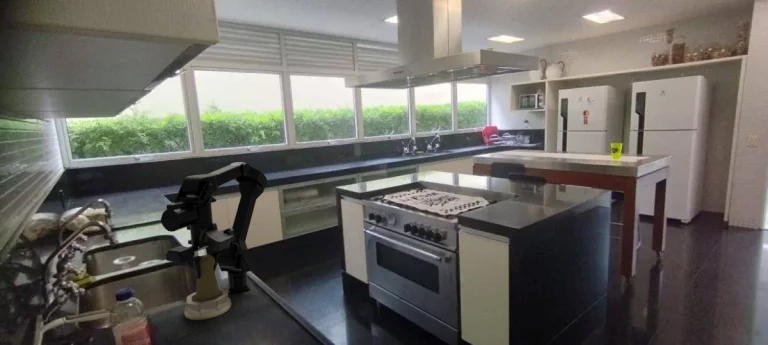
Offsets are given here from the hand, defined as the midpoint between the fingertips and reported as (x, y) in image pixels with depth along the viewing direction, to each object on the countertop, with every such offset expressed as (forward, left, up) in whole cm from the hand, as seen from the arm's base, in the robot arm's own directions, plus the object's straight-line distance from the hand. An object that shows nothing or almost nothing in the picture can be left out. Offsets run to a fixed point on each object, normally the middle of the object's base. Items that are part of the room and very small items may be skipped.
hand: (206, 274), depth 102 cm
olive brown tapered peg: (0, 0, -6) cm, 6 cm away
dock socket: (0, 0, -10) cm, 10 cm away
